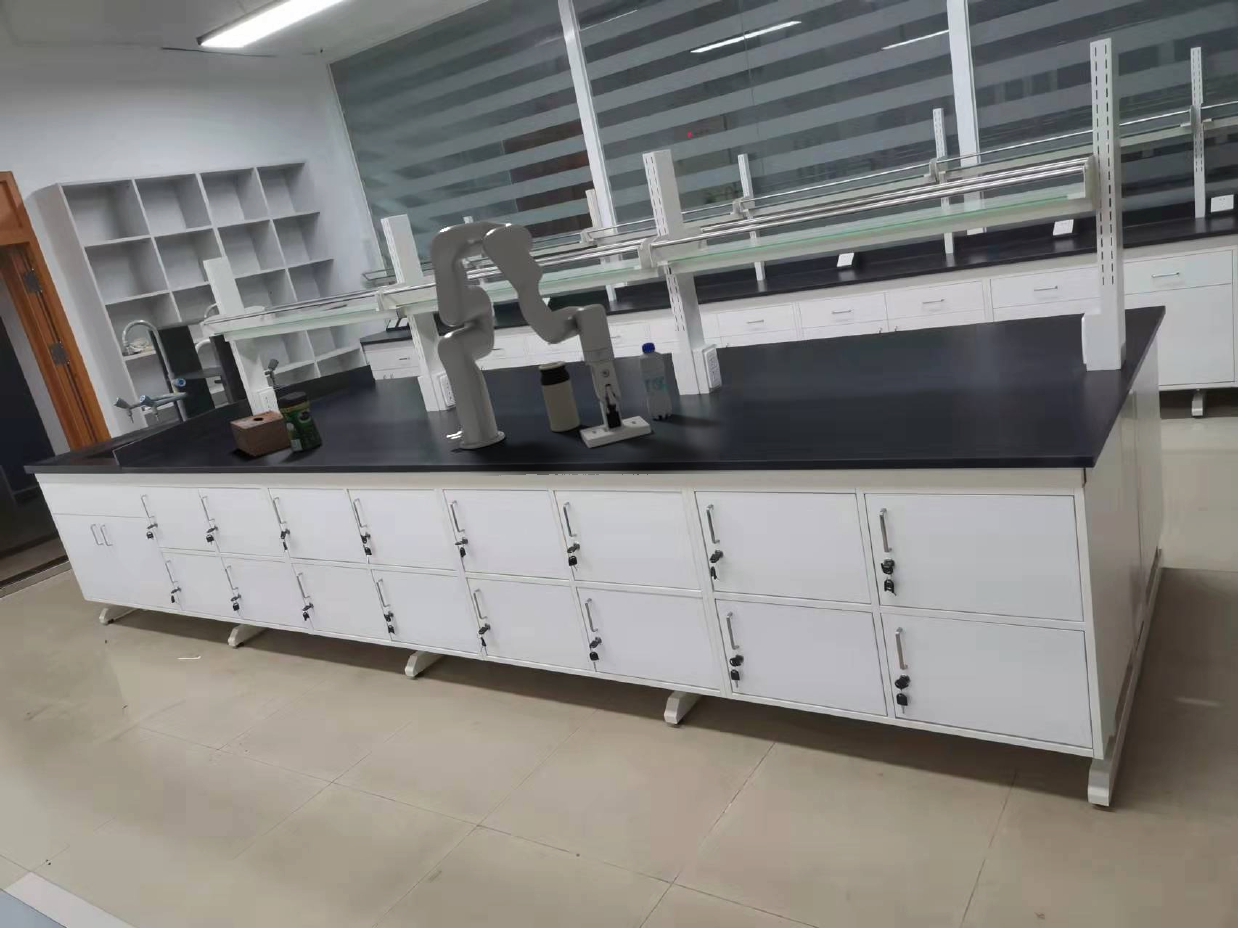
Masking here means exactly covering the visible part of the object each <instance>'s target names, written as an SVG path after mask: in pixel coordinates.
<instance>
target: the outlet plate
mask: <svg viewBox="0 0 1238 928" xmlns="http://www.w3.org/2000/svg"><path fill="white" fill-rule="evenodd" d="M622 424H623V428H622V429H618V430H613V431H609V432H606V430H605V426H604V424H601V425H597V426H592V427H588V428H584V429H580V430H579V432H580V436H581V439H582V440H583V442H584V443H585V445H587V447H588V448H589V449H590V448H595V447H598V446H602V445H607V444H610V443H615V442H618V441H622V440H627V439H630V438H634V437H640V436H643V435H646V434H651V433H652V430H651V425H650V424H649V423H648V422H647V421H646V420H645V419H644V418H642V417H641V416H640V415H637V416H633V417H628V418H625V419H622Z"/></svg>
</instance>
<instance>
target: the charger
mask: <svg viewBox="0 0 1238 928" xmlns="http://www.w3.org/2000/svg"><path fill="white" fill-rule="evenodd" d="M615 400H616V404H617V408H618V411H619V416H620V421H621V426H620V427H616V428H612V429H609V427H608V422H607V417H606V413H607V412H606V407H605V403H604V402H603V401H601V400H600V401H599V407H600V411H601V415H602V420H603V425H604V426H605V430H606V432H609V431H613V430H618V429H622V428H623V424H622V420H623V419H622V415H621V410H620V404H619V400H617V399H616V398H615ZM606 401H609V400H606ZM607 404H609V403H607Z"/></svg>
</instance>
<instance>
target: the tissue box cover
mask: <svg viewBox="0 0 1238 928" xmlns="http://www.w3.org/2000/svg"><path fill="white" fill-rule="evenodd" d="M229 424H230V427H231V430H232V432H233V433H232V434H233V435H234V438H235V442H236V444H237V447H238V449H239V450H241V451H243V452H245V453H246V454H248V453H249V454H248V455H250V456H252V455H253V456H252V457H254V456H255V457H258V456H257V455H259V456H261V454H262V455H264V453H265V454H268V453H271V452H274V451H273V450H275V451H277V450H280V449H281V450H282V449H284V448H286V447H291V446H290V442H289V437H288V433H287V428H286V425H285V421H284V418H283V416H282V414H281V413H280V412H276V411H273V410H269V411H268V410H267V411H265V412H260V413H257V414H254V415H251V416H247V417H244V418H243V417H242V418H240V419H237V420H233V421H230V422H229Z"/></svg>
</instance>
